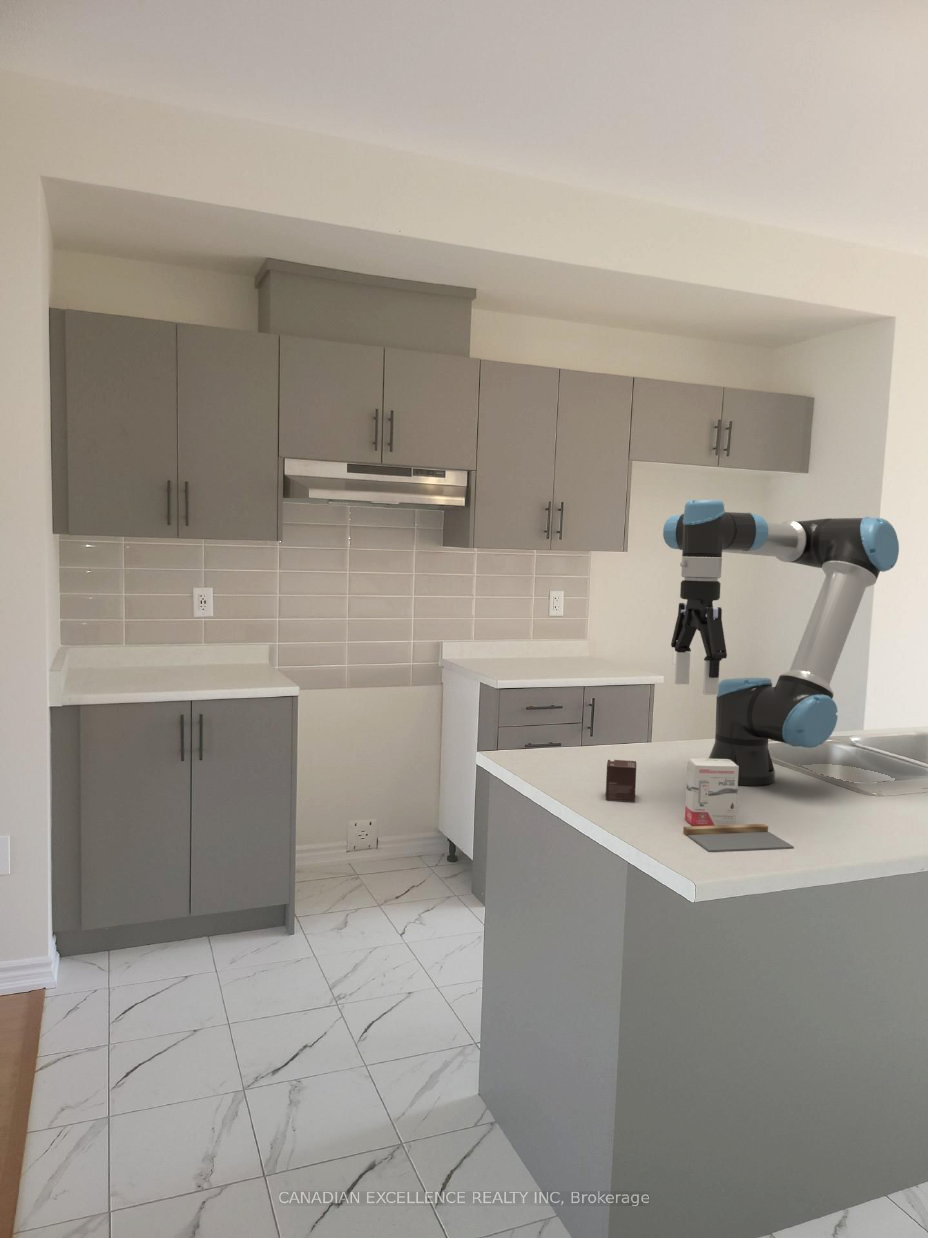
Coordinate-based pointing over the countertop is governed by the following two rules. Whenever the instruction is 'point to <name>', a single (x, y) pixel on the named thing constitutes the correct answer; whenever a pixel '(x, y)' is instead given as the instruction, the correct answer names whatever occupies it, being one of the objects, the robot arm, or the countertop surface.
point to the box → (621, 780)
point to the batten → (725, 829)
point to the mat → (740, 841)
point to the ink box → (711, 792)
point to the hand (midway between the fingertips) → (695, 689)
